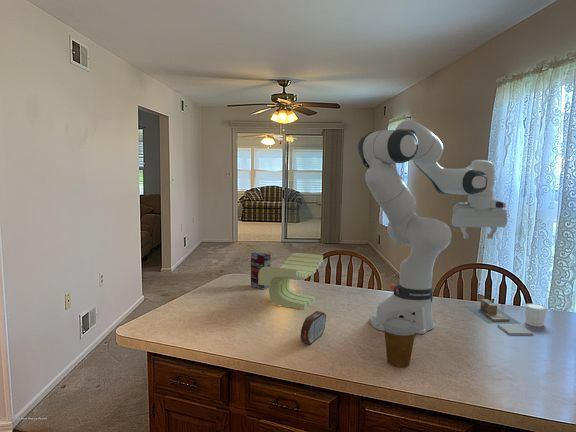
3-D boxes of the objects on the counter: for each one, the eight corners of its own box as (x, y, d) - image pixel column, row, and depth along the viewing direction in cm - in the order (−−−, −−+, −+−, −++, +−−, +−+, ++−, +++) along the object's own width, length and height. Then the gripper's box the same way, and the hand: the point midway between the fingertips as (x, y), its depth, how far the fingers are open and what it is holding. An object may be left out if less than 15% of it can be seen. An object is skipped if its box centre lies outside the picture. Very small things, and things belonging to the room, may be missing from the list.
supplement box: (250, 286, 203) (250, 253, 201) (257, 284, 206) (257, 251, 204) (263, 290, 197) (263, 255, 195) (270, 287, 201) (271, 254, 199)
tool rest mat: (487, 324, 157) (487, 323, 157) (464, 306, 177) (464, 305, 177) (520, 324, 157) (520, 323, 157) (493, 307, 177) (493, 305, 177)
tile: (497, 328, 154) (509, 337, 146) (497, 324, 154) (509, 332, 146) (520, 329, 154) (532, 338, 146) (520, 324, 154) (533, 333, 146)
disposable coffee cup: (377, 356, 129) (378, 317, 128) (408, 355, 130) (410, 316, 129) (387, 370, 120) (388, 328, 119) (420, 369, 121) (422, 328, 119)
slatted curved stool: (288, 290, 197) (289, 251, 195) (322, 295, 191) (322, 255, 189) (258, 310, 170) (258, 265, 168) (295, 316, 163) (296, 269, 161)
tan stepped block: (476, 308, 173) (476, 299, 172) (490, 308, 173) (491, 299, 172) (493, 321, 159) (493, 310, 158) (509, 321, 159) (510, 310, 158)
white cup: (548, 329, 153) (550, 309, 152) (527, 327, 154) (528, 308, 154) (541, 322, 160) (542, 303, 159) (521, 320, 161) (522, 302, 160)
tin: (318, 330, 149) (319, 307, 148) (327, 332, 147) (327, 308, 146) (299, 346, 136) (299, 320, 135) (308, 348, 134) (309, 322, 133)
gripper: (456, 203, 163) (454, 239, 164) (510, 203, 163) (508, 240, 165) (449, 201, 169) (448, 237, 170) (501, 202, 169) (499, 237, 171)
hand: (477, 238), depth 167 cm, fingers open, 8 cm apart
